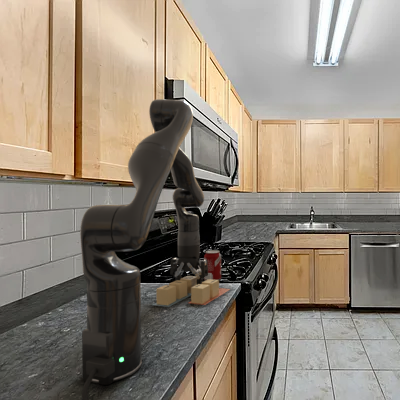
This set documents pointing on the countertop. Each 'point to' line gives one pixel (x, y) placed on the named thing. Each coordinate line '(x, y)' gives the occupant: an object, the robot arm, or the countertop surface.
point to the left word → (171, 293)
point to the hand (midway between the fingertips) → (189, 287)
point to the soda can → (213, 265)
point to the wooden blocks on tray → (206, 292)
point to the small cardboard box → (190, 282)
